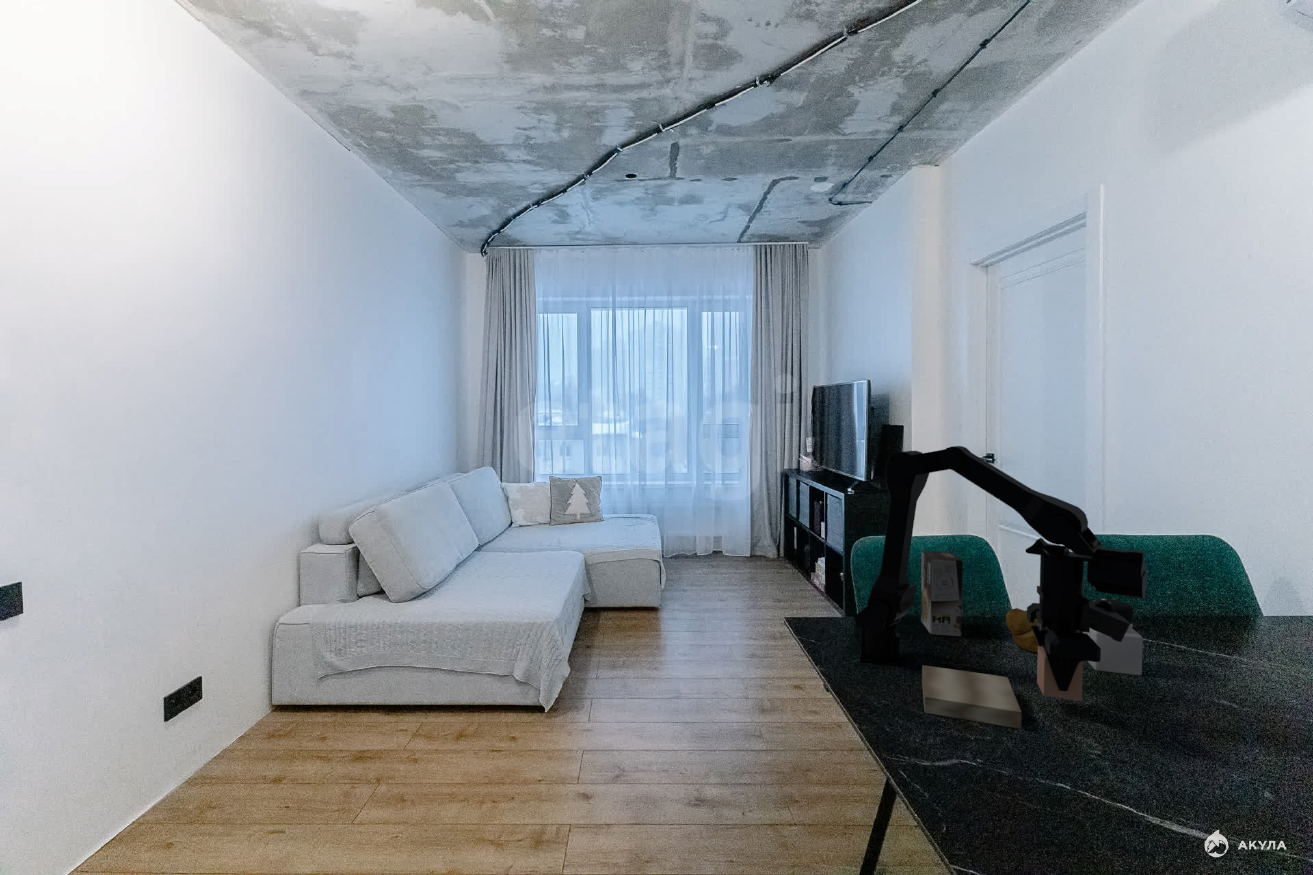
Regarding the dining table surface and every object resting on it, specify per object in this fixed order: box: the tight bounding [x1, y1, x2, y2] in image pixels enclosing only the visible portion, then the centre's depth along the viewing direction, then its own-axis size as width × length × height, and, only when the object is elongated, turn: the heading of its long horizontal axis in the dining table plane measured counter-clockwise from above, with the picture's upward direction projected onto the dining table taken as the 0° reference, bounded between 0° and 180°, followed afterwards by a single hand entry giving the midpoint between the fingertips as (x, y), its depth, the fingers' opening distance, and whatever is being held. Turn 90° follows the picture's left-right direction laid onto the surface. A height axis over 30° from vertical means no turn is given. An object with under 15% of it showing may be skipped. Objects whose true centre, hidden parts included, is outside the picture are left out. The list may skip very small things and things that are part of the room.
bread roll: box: [1005, 607, 1039, 653], centre depth 122 cm, size 13×10×8 cm
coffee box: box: [920, 550, 964, 637], centre depth 132 cm, size 9×6×16 cm
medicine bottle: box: [1082, 598, 1144, 676], centre depth 112 cm, size 7×7×12 cm
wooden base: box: [921, 664, 1022, 730], centre depth 98 cm, size 13×13×2 cm
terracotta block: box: [1036, 646, 1084, 702], centre depth 96 cm, size 5×5×6 cm
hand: (1058, 683), depth 96 cm, fingers closed on terracotta block, 5 cm apart
